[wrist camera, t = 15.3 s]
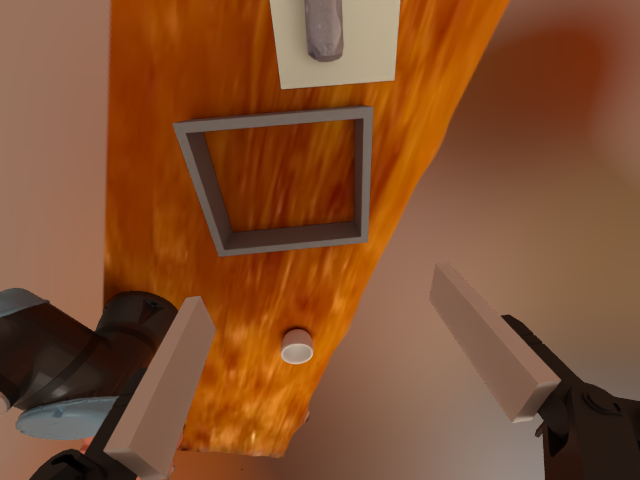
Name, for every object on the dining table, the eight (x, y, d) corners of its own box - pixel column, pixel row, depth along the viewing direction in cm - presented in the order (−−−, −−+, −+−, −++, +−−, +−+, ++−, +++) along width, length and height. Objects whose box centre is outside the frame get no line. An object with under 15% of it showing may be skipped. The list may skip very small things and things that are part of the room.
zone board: (281, 89, 34) (281, 89, 34) (258, -86, 26) (258, -90, 25) (392, 80, 35) (394, 80, 34) (405, -95, 26) (407, -99, 26)
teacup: (288, 321, 59) (287, 340, 54) (317, 328, 61) (318, 347, 56) (274, 346, 63) (273, 365, 59) (302, 351, 65) (302, 371, 61)
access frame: (227, 238, 46) (218, 256, 41) (190, 119, 35) (172, 123, 30) (360, 225, 47) (367, 242, 41) (362, 105, 36) (373, 106, 31)
